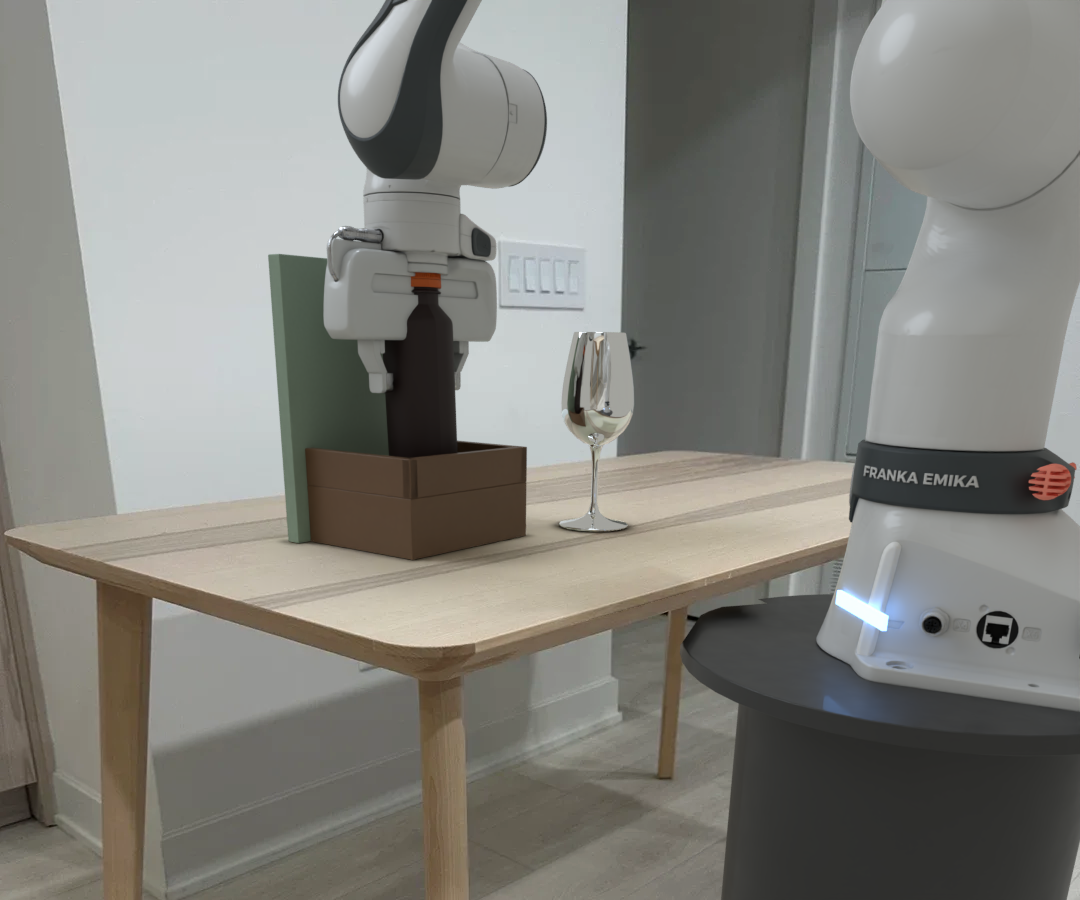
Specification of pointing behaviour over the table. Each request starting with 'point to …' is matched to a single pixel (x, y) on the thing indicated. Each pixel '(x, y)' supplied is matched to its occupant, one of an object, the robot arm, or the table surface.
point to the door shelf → (372, 447)
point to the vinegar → (422, 378)
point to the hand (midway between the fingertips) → (416, 391)
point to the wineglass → (597, 406)
